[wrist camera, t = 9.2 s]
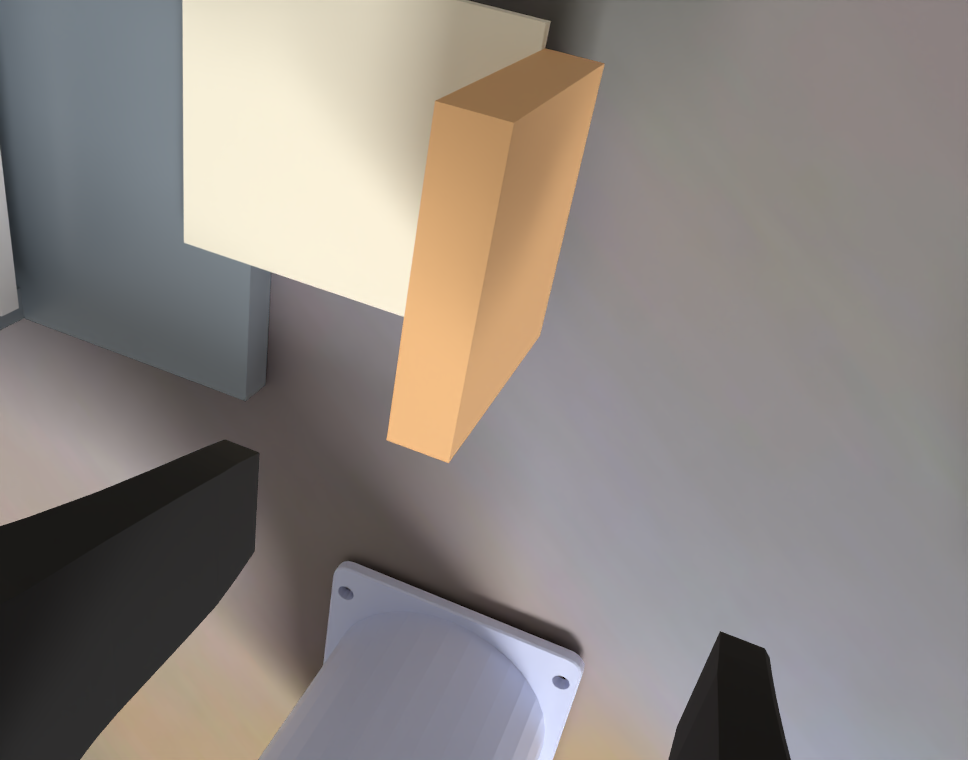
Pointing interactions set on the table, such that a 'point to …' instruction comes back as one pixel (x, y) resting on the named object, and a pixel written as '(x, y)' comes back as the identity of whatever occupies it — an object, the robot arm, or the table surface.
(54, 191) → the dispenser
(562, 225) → the two-tone bracket
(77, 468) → the table surface
